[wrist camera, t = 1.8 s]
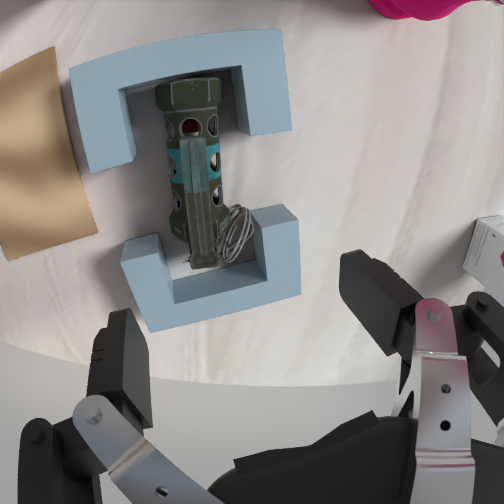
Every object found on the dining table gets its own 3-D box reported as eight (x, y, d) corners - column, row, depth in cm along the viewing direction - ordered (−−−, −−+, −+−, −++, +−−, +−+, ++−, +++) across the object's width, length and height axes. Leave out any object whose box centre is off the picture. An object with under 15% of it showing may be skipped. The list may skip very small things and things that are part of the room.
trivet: (-38, 97, 13) (-40, 98, 13) (54, 47, 15) (53, 46, 14) (10, 258, 21) (8, 260, 21) (97, 231, 23) (97, 233, 23)
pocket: (82, 72, 17) (68, 68, 14) (265, 37, 19) (280, 29, 16) (150, 308, 28) (150, 332, 25) (287, 273, 30) (301, 294, 27)
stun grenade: (158, 85, 20) (176, 248, 27) (145, 82, 14) (174, 290, 21) (240, 78, 20) (246, 240, 27) (256, 73, 15) (260, 280, 22)
